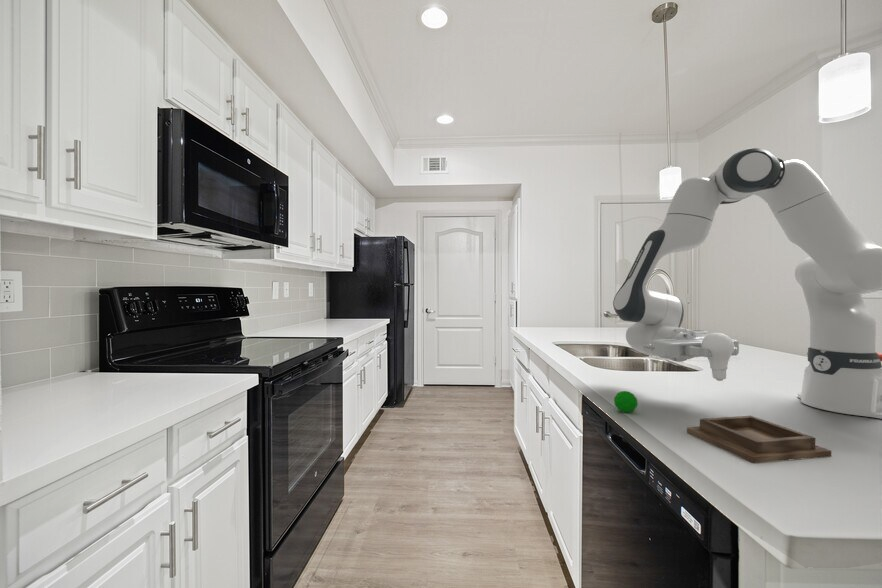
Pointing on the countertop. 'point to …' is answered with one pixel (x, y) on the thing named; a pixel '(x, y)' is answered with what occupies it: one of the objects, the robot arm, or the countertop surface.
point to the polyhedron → (625, 402)
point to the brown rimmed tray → (757, 439)
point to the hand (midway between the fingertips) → (722, 352)
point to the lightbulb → (718, 353)
